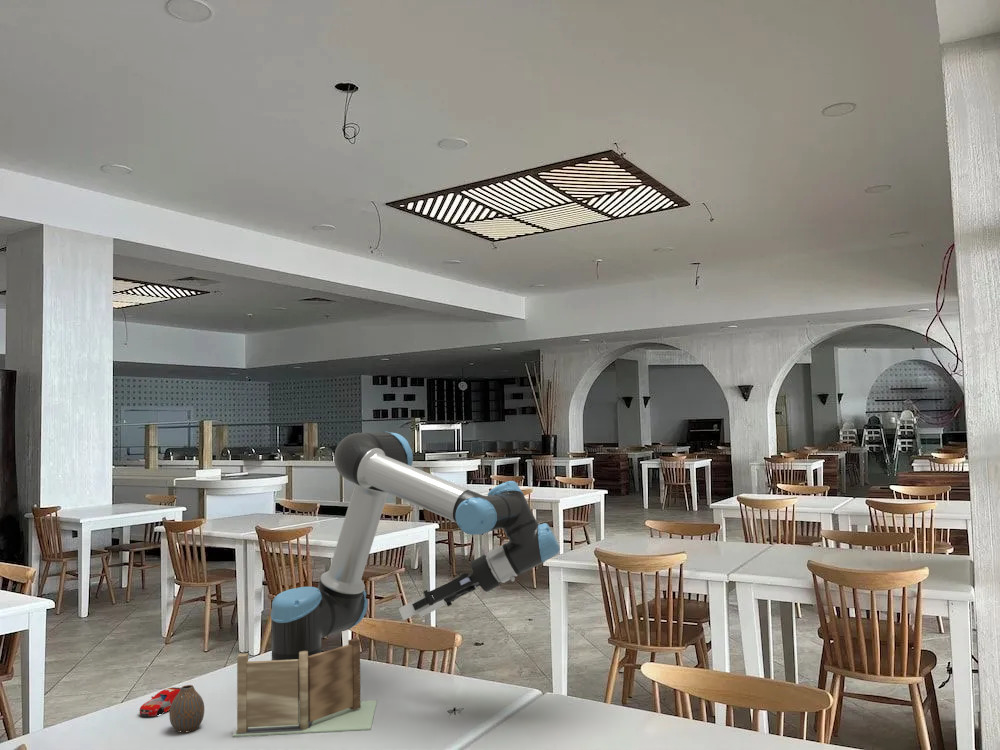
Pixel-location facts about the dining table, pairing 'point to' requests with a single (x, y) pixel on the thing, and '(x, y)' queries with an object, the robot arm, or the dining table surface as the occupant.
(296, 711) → the birch fence section
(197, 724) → the vase
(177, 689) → the race car
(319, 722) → the card
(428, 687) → the dining table surface
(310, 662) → the walnut panel
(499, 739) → the dining table surface
